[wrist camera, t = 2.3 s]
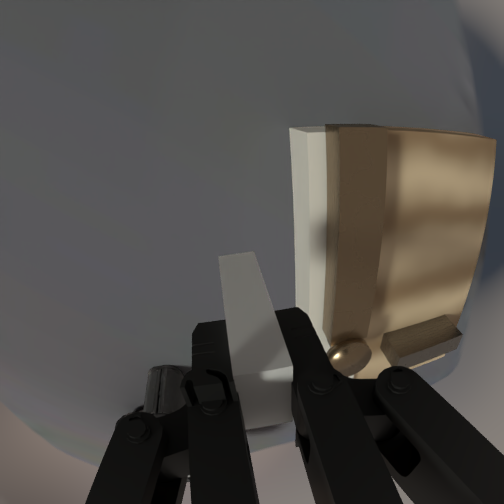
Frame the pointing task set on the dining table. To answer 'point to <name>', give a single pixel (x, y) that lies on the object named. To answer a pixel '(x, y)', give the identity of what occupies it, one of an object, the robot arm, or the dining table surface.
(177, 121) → the dining table surface
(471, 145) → the door slab
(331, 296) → the swing bar
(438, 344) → the bar
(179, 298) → the dining table surface
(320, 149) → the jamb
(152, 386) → the camera
